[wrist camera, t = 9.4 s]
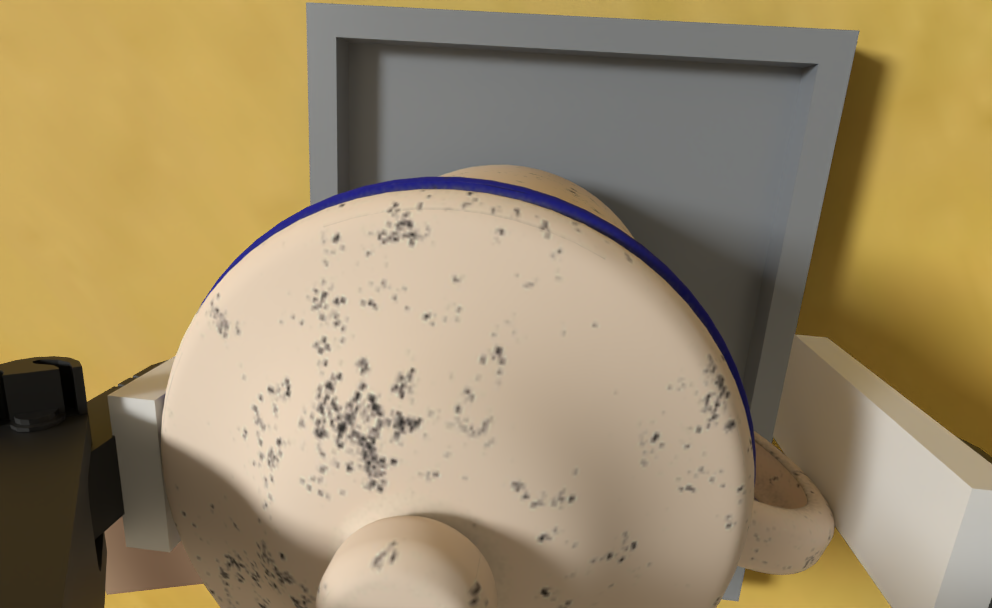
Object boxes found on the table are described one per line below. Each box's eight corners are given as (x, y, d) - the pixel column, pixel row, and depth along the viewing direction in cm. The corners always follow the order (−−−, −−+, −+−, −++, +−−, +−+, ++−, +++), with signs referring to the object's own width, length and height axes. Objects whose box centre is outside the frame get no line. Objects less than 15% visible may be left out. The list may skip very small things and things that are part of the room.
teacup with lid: (315, 395, 19) (-45, 780, 8) (398, 105, 16) (37, 45, 5) (676, 530, 19) (845, 1112, 8) (820, 261, 16) (1399, 552, 5)
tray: (831, 40, 16) (859, 30, 15) (725, 567, 21) (738, 601, 20) (328, 14, 17) (306, 2, 16) (334, 520, 22) (317, 549, 21)
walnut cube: (265, 379, 21) (191, 443, 17) (303, 492, 22) (241, 579, 18) (151, 398, 22) (50, 465, 17) (192, 507, 23) (107, 594, 18)
